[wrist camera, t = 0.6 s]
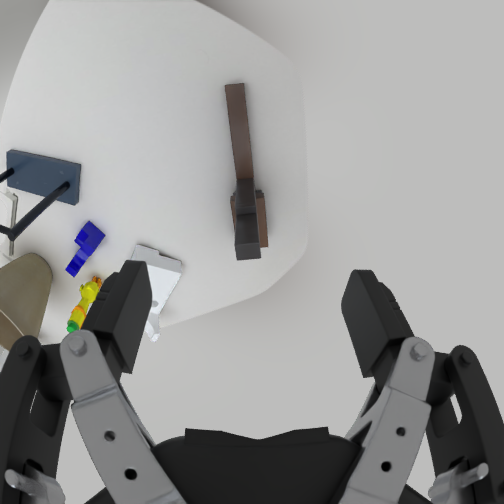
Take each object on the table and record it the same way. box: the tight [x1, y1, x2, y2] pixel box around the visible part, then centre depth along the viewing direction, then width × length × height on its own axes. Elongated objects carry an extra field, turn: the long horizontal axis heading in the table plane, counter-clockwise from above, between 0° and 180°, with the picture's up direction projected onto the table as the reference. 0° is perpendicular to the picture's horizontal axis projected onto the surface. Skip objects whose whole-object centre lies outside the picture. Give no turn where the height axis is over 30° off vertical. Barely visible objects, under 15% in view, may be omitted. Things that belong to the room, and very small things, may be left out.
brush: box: [225, 83, 268, 260], centre depth 27 cm, size 4×20×15 cm, turn 6°
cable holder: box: [65, 221, 105, 277], centre depth 37 cm, size 8×4×4 cm, turn 130°
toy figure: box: [67, 276, 102, 333], centre depth 39 cm, size 7×4×12 cm, turn 153°
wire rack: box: [0, 150, 81, 241], centre depth 25 cm, size 6×15×15 cm, turn 70°
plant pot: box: [0, 253, 52, 351], centre depth 35 cm, size 15×15×16 cm
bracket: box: [131, 245, 182, 342], centre depth 40 cm, size 13×7×8 cm, turn 148°
